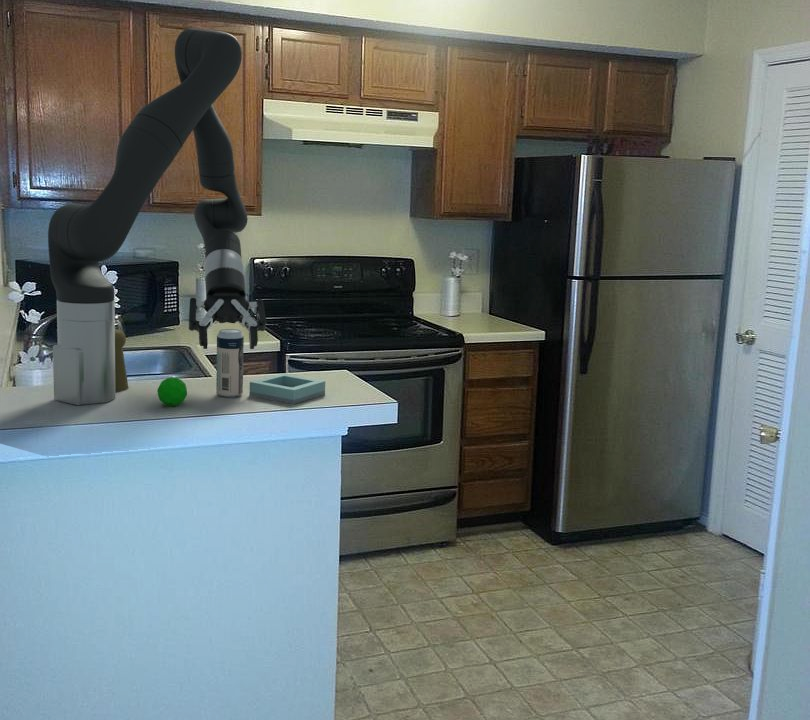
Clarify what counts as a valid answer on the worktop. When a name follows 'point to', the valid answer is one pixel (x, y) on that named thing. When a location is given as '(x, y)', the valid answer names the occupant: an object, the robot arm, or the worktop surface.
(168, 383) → the polyhedron
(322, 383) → the tray
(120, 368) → the brown pawn
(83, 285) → the robot arm
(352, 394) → the worktop surface
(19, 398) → the worktop surface
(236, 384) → the beer can
